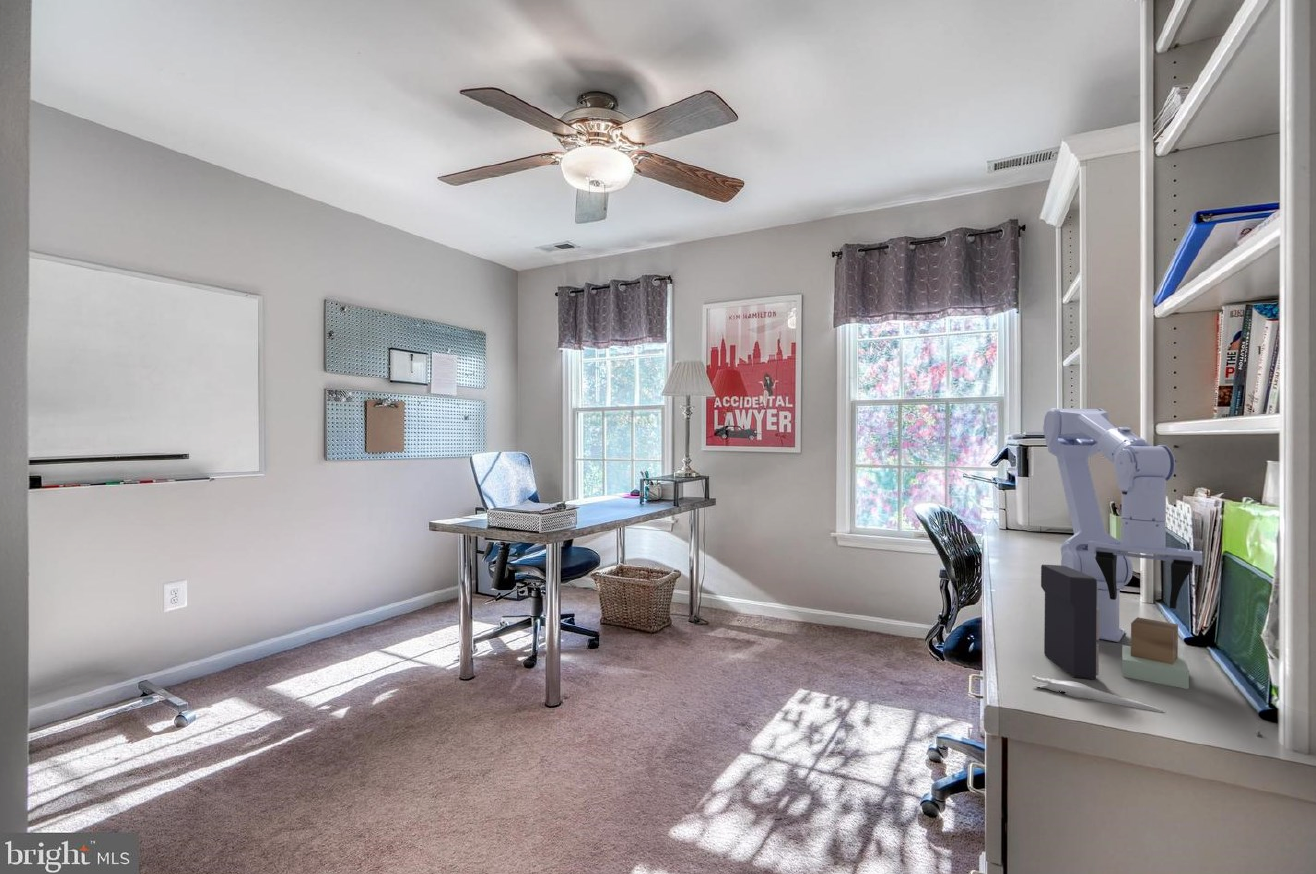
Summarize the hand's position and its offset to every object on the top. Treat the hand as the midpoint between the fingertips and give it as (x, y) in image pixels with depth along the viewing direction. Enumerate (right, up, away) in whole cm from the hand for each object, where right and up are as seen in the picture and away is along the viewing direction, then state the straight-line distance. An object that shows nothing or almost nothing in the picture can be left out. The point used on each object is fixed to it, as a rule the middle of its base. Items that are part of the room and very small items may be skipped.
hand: (1142, 603), depth 100 cm
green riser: (-3, -10, -6) cm, 12 cm away
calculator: (-14, -9, -4) cm, 17 cm away
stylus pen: (-19, -9, -16) cm, 27 cm away
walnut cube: (-3, -7, -6) cm, 9 cm away
